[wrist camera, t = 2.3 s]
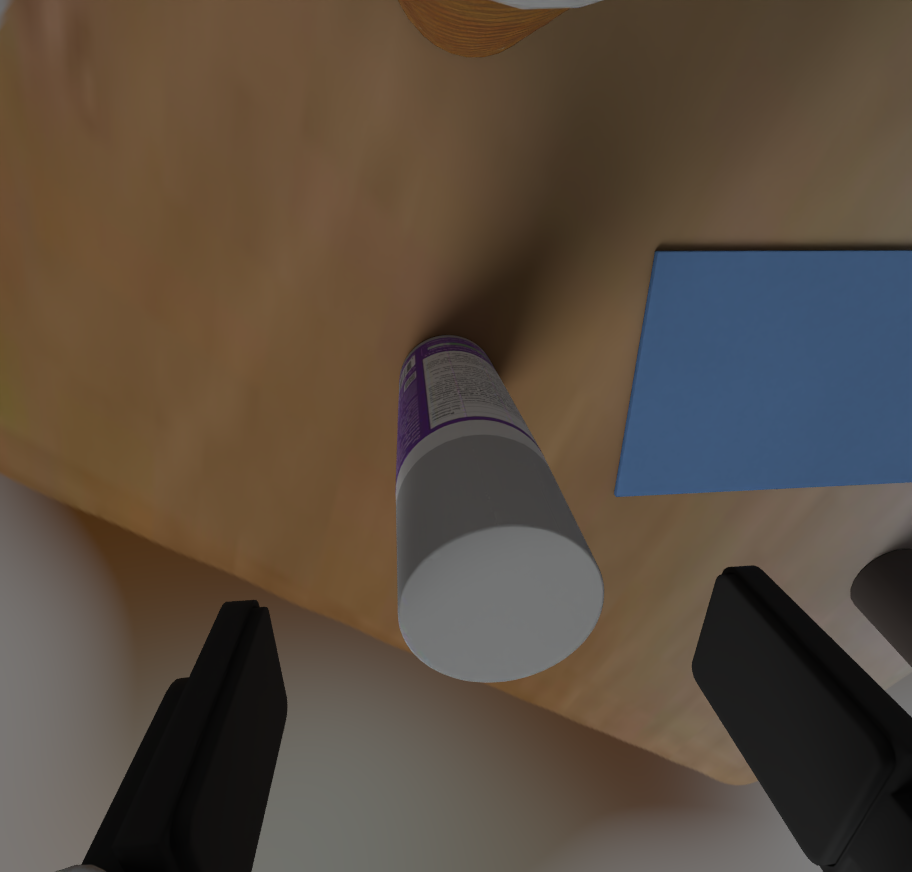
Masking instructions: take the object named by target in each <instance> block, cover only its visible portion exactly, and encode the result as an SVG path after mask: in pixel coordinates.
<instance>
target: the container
mask: <svg viewBox="0 0 912 872" xmlns="http://www.w3.org/2000/svg"><path fill="white" fill-rule="evenodd" d="M396 524H397V581H398V620H399V626H400V630H401V633H402V636H403V638H404V640H405V642H406V643H407V645H408V647H409V648H410V649H411V651H412V652H413V653H414V654H415V655H416V656H417V657H418V658H419V659H420V660H421V661H422V662H424V663H425V664H426V665H428V666H429V667H431V668H433V669H434V670H436V671H438V672H440V673H443V674H445V675H448V676H451V677H454V678H457V679H461V680H466V681H474V682H502V681H510V680H515V679H519V678H523V677H527V676H530V675H533V674H536V673H538V672H541V671H543V670H545V669H548V668H549V667H551V666H553V665H555V664H557V663H558V662H560V661H562V660H563V659H565V658H566V657H567V656H569V655H570V654H571V653H572V652H574V651H575V650H576V649H577V648H578V647H579V646H580V645H581V644H582V643H583V642H584V641H585V640H586V638H587V637H588V636H589V634H590V633H591V631H592V630H593V628H594V627H595V625H596V623H597V621H598V618H599V616H600V614H601V610H602V606H603V600H604V584H603V579H602V575H601V572H600V570H599V567H598V565H597V563H596V561H595V559H594V557H593V555H592V553H591V551H590V549H589V547H588V545H587V543H586V541H585V539H584V537H583V535H582V533H581V531H580V529H579V527H578V525H577V523H576V521H575V519H574V517H573V515H572V513H571V511H570V509H569V507H568V505H567V503H566V501H565V499H564V497H563V495H562V492H561V490H560V488H559V486H558V484H557V482H556V480H555V478H554V476H553V474H552V472H551V470H550V468H549V466H548V464H547V462H546V460H545V458H544V456H543V454H542V452H541V450H540V448H539V447H538V445H537V443H536V441H535V439H534V438H533V436H532V434H531V432H530V431H529V429H528V427H527V425H526V423H525V422H524V420H523V418H522V416H521V415H520V413H519V411H518V409H517V407H516V406H515V404H514V402H513V400H512V398H511V397H510V395H509V393H508V391H507V390H506V388H505V386H504V384H503V382H502V381H501V379H500V377H499V375H498V374H497V372H496V370H495V368H494V366H493V365H492V363H491V361H490V359H489V358H488V356H487V355H486V353H485V352H484V351H483V350H482V349H481V348H480V347H479V346H478V345H477V344H475V343H474V342H472V341H470V340H468V339H466V338H463V337H459V336H454V335H442V336H437V337H433V338H430V339H428V340H426V341H424V342H422V343H420V344H419V345H418V346H416V347H415V348H414V349H413V350H412V351H411V352H410V354H409V355H408V356H407V358H406V360H405V361H404V364H403V366H402V369H401V373H400V381H399V408H398V437H397V466H396Z"/></svg>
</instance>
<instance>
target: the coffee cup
mask: <svg viewBox="0 0 912 872" xmlns="http://www.w3.org/2000/svg"><path fill="white" fill-rule="evenodd" d="M851 599H852V601H853V603H854V605H855V606H856V607H857V608H858V609H859V610H860V611H861V612H862V613H863V614H864V616H865V617H866V618H867V619H868V620H869V621H870V622H871V623H872V624H873V625H874V626H875V628H876V629H877V630H878V631H879V632H880V633H881V634H882V635H883V636H884V637H885V638H886V640H887V641H888V642H889V643H890V644H891V645H892V646H893V647H894V648H895V649H896V650H897V652H898V653H899V654H900V655H901V656H902V657H903V658H904V659H905V660H906V661H907V662H908V664H909V665H910V666H911V667H912V549H903V550H896V551H893V552H890V553H887V554H884V555H882V556H881V557H879V558H877V559H876V560H874V561H872V562H871V563H870V564H869V565H867V566H866V567H865V568H864V569H863V570H862V571H861V572H860V573H859V575H858V576H857V577H856V579H855V580H854V582H853V585H852V588H851Z"/></svg>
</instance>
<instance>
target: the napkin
mask: <svg viewBox="0 0 912 872" xmlns="http://www.w3.org/2000/svg"><path fill="white" fill-rule="evenodd" d="M905 482H912V250H772V251H655V255H654V261H653V267H652V273H651V279H650V285H649V291H648V297H647V302H646V308H645V314H644V320H643V326H642V332H641V338H640V344H639V350H638V356H637V362H636V367H635V373H634V379H633V385H632V391H631V397H630V403H629V409H628V415H627V421H626V427H625V432H624V438H623V444H622V450H621V456H620V462H619V468H618V474H617V480H616V486H615V492H614V495H615V496H616V497H622V496H643V495H663V494H683V493H703V492H723V491H744V490H764V489H784V488H804V487H825V486H845V485H865V484H885V483H905Z"/></svg>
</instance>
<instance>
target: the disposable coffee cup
mask: <svg viewBox="0 0 912 872" xmlns="http://www.w3.org/2000/svg"><path fill="white" fill-rule="evenodd" d="M398 1H399V3H400V5H401V6H402V8H403V10H404V12H405V13H406V15H407V17H408V19H409V20H410V21H411V22H412V23H413V24H414V25H415V27H416V28H417V29H418V30H419V31H420V32H421V33H422V35H423V36H424V37H426V38H427V39H428V40H429V41H431V42H432V43H433V44H434V45H436V46H438V47H440V48H442V49H444V50H446V51H448V52H450V53H452V54H456V55H460V56H464V57H486V56H489V55H493V54H497V53H500V52H502V51H504V50H506V49H508V48H510V47H511V46H513V45H515V44H516V43H518V42H519V41H520V40H522V39H523V38H525V37H526V36H528V35H530V34H531V33H532V32H534V31H536V30H537V29H539V28H540V27H542V26H544V25H546V24H548V23H549V22H550V21H551V20H553V19H554V18H556V17H557V16H559V15H561V14H562V13H563V12H565V11H567V10H568V9H570V8H580V7H583V6H587V5H590V4H593V3H596V2H599V1H603V0H398Z"/></svg>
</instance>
